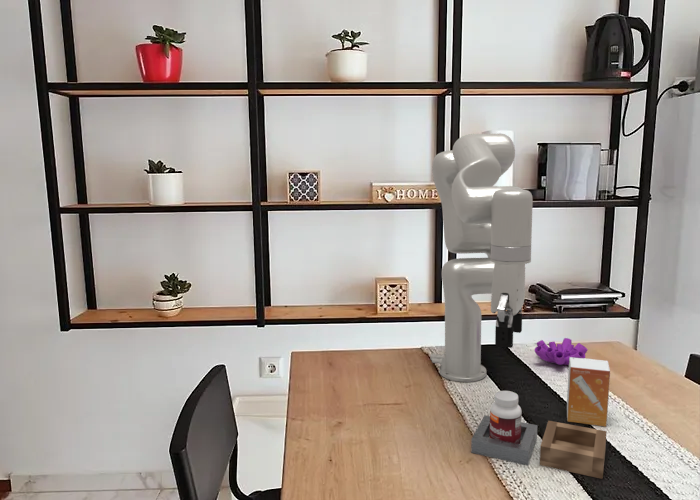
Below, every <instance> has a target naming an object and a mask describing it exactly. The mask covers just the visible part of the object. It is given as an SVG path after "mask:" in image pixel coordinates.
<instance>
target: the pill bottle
mask: <svg viewBox="0 0 700 500" xmlns="http://www.w3.org/2000/svg"><path fill="white" fill-rule="evenodd" d="M493 400H494V401H493V402H492V403H491V405H490V411H489V416H490V432H489V438H492V439H497V440H501V441H506V442H511V443H516V444H521V442H522V440H521V422H522V414H523V413H522V408H521V406H520V405H519V395H518V394H517V393H516V392H515V391H514V392H513V391H510V390H499V391H495V393H494V398H493Z"/></svg>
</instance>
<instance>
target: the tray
mask: <svg viewBox="0 0 700 500" xmlns="http://www.w3.org/2000/svg"><path fill="white" fill-rule="evenodd" d="M607 433H608V432H607V431H606V430H601V429H596V428H589V427H584V426H580V425H573V424H569V423H564V422H559V421H558V422H557V421H552V420H547V424H546V427H545V430H544V433H543V436H542V439H541V442H540V446H539V447H540V448H539V450H540V451H539V466H543V467H546V468H551V469H555V468H556V470H560V471H564V472H570V473H574V474H577V475H584V476H588V477H593V478H595V479H596V478H597V479H601V480H603V477H604V467H605V458H606V448H607V446H606V445H607V444H606V443H607Z"/></svg>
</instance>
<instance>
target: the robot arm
mask: <svg viewBox="0 0 700 500" xmlns="http://www.w3.org/2000/svg"><path fill="white" fill-rule="evenodd" d="M515 157H516V148H515V145H514V142H513V140H512V138H511V137H510V136H509V135H507V134H506V133H501V132H500V133H473V134H472V133H471V134H465V135H462V136H461V137H459V138H458V139H457V140H456V141H455V142H454V144H453V146H452V150H451V149H450V150H444V151H440V152H439V153H437V154H436V155H435V156H434V158H433V160H432V166H431V167H432V170H431V172H432V180H433V183H434V186H435V189H436V191H437V194H438V196H439V200H440V201H441V208H442V211H441V212H442V222H443V223H442V224H443V236H444V244H445V248H446V249H447V250H448V252H449V253H453V254H464V255H465V254H485V255H487V257H464V258H463V257H462V258H459V257H458V258H454V259H449V260H448V261H446V262H445V263H444V264H443V266H442V268H441V281H442V282H441V283H442V288H443V295H444V353H442V354H438V353H434V352H433V353H432V352H431V353H430V360H431V363H432V364H439V365H440V366H439V368H438V373H439V374H440V376H441V377H443V378H445V379H447V380H449V381H454V382H461V383H469V382H470V383H471V382H477V381H480V380H483V379H484V378H485V377H486V376H487V368H486V367H485V366H484V365H482V364H481V363H482V361H481V359H482V355H481V354H482V351H481V350H482V310H481V306H480V305H479V304H478V303H477V301H476V300H475V299H474V298H473V296H475V295H487V294H488V295H491V296H490V297H491V298H490V300H491V301H490V311H491V313H492V314H495V313H496V314H497V315H496V320H495V328H494V329H495V330H494V334H495V337H494V338H495V339H494V344H495V346H496V347H501V348H509V349H512V348H513V347H514V346H513V345H514V333H516V334H517V333H518V334H520V333H522V330H523V313H522V312H523V311H522V310H523V306H524V302H525V294H526V293H525V292H526V291H525V289H526V265H527V264H530V263H531V262H532V233H533V232H532V231H533V229H532V228H533V200H534V199H533V195H532V192H531V191H529V190H527V189H523V188H522V187H520V186H514V185H502V186H498V185H496V184H497V183H498V181H499V179H500V177H502V176H503V175H504V174H505V173H506V172H507V171H508V170H509V169H510V168H511V167H512V165H513V164H514V161H515Z"/></svg>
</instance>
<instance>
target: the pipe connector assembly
mask: <svg viewBox="0 0 700 500" xmlns="http://www.w3.org/2000/svg"><path fill="white" fill-rule="evenodd" d="M572 341H573V340H572V339H571V338H568V337H567V338H566V337H564V338H563V341H562V343H556V341H549V342H548V344H546V342H545V341H544V340H543V339H541V340H539V341H537V342H536V346H535V348H534V353H535V354H536V356H537V357H539V359H541V360H542V361H545V362H547V363H551V364H557V365H560V366H562V365H565V366H566V365H567V366H569V357H573V358H586V353H588V350H589V349H588V348H587V347H586V346H584V345H583V344H581V343H580V342H578V343H577V344H576V345H574V344H573V343H572Z"/></svg>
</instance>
